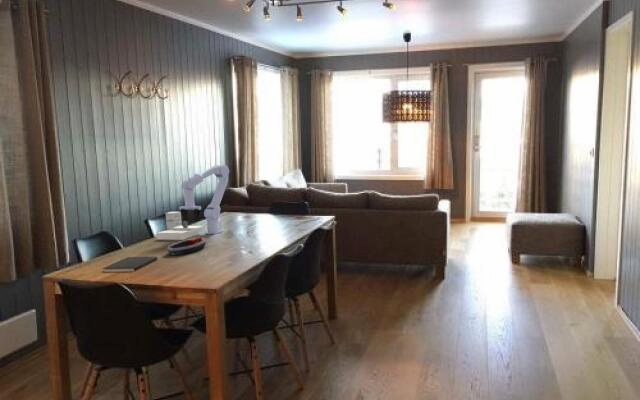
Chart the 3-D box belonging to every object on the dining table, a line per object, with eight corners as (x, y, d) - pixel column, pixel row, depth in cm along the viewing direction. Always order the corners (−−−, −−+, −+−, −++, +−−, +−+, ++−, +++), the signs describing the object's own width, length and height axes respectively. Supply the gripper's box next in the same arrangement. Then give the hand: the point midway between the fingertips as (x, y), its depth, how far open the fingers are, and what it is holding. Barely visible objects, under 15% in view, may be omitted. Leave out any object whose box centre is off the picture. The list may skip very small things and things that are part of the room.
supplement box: (166, 231, 359) (164, 213, 357) (173, 229, 366) (171, 211, 364) (175, 231, 356) (174, 213, 355) (182, 229, 363) (180, 211, 361)
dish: (158, 256, 281) (158, 247, 280) (193, 244, 309) (192, 235, 309) (183, 257, 275) (182, 247, 275) (216, 245, 304) (215, 236, 303)
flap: (180, 226, 350) (179, 219, 350) (203, 226, 344) (203, 219, 343) (172, 228, 343) (172, 221, 342) (196, 228, 336) (196, 221, 336)
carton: (173, 235, 343) (172, 228, 343) (197, 235, 337) (196, 228, 336) (157, 240, 328) (156, 232, 328) (182, 240, 322) (181, 233, 321)
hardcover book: (103, 273, 252) (102, 268, 252) (128, 261, 275) (128, 257, 274) (134, 272, 249) (134, 267, 249) (157, 261, 272) (157, 256, 271)
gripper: (175, 200, 329) (177, 222, 330) (195, 200, 323) (197, 222, 325) (182, 198, 335) (184, 220, 337) (202, 198, 330) (204, 220, 331)
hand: (191, 221), depth 331 cm, fingers open, 7 cm apart
